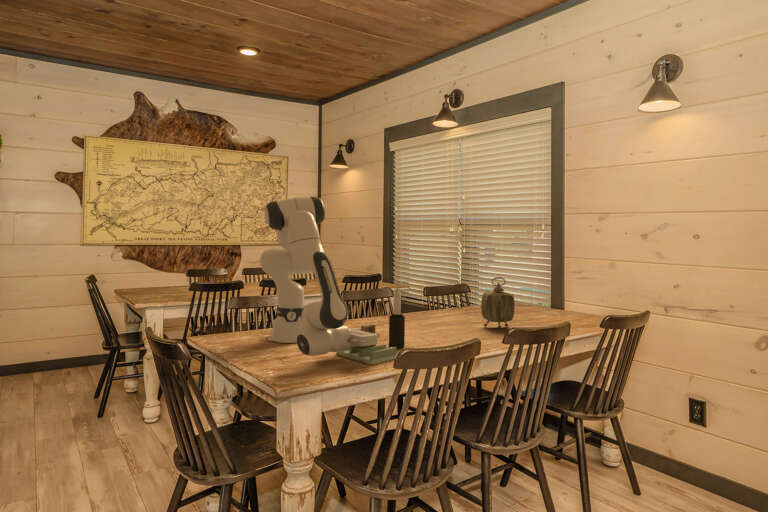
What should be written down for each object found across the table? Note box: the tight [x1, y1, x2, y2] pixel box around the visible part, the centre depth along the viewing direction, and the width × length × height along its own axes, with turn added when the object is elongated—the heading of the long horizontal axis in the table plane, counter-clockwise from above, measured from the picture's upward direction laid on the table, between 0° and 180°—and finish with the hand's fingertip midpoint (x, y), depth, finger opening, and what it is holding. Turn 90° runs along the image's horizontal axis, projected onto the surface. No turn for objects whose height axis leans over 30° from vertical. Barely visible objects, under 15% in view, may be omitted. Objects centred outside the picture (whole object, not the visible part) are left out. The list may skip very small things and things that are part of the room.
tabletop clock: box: [480, 276, 516, 329], centre depth 237 cm, size 14×9×25 cm, turn 97°
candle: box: [388, 284, 406, 349], centre depth 194 cm, size 5×5×25 cm
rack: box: [335, 343, 398, 366], centre depth 179 cm, size 14×20×4 cm
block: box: [360, 323, 376, 349], centre depth 179 cm, size 5×2×10 cm, turn 133°
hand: (369, 333), depth 180 cm, fingers open, 8 cm apart
